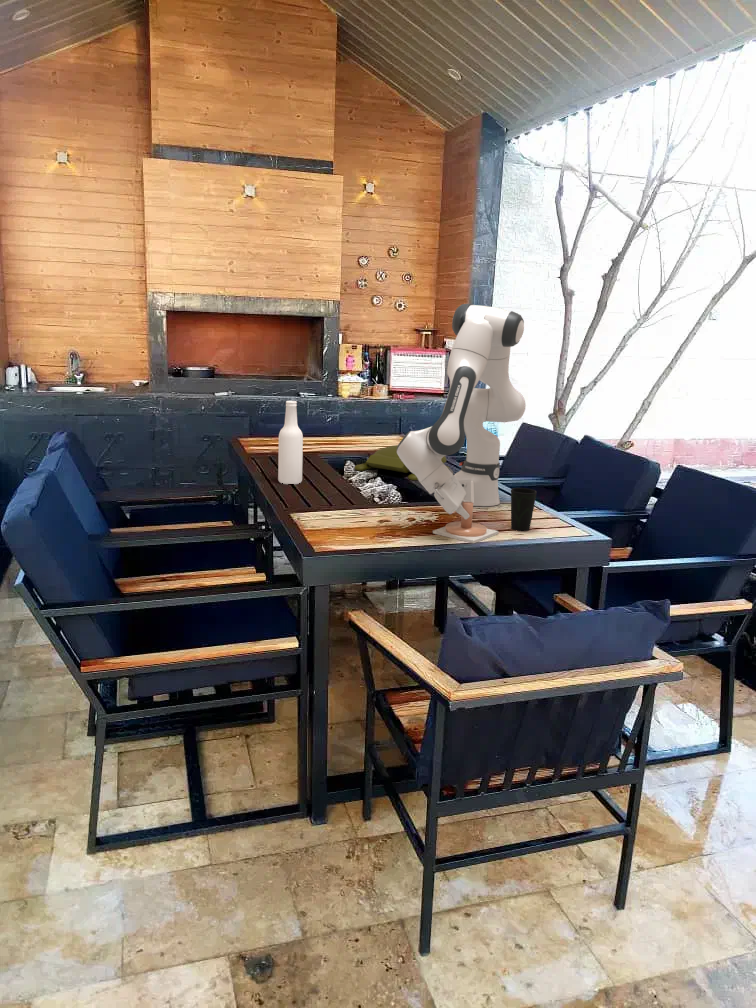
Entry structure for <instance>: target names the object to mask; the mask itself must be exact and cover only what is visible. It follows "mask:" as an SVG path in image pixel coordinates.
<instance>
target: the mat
mask: <svg viewBox="0 0 756 1008" xmlns="http://www.w3.org/2000/svg"><path fill="white" fill-rule="evenodd" d="M445 529H446V525H445V526H443V527H440V528H437V529H434V530H432V534H435V535H438V536H442V537H446V538H450V539H454V540H459V541H463V542H468V543H470V544H476V543H478V542H481V541H483V540H484V541H485V540H486V539H489V538H491V537H494V536H496V535H499V530H495V529H490V528H487V531H486V534H485V535H482V536H476V537H465V536H458V535H453V534H450V533H448V532H447V531H446V530H445Z"/></svg>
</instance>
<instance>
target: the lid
mask: <svg viewBox="0 0 756 1008" xmlns="http://www.w3.org/2000/svg"><path fill="white" fill-rule="evenodd" d="M462 506H463V508H464V509H465V510H466V511H468V513H469V514H470V517H469V518H468V519H464V518H463V517H462V516H461V515H460V516H461V519H460V521H451V522H448V523H446V524H445V526H446V529H445V530H446V531H447V532H448V533H450V534H453V535H458V536H465V537H476V536H482V535H485V534H486V531H487V529H488V528H487V527H486V525H483V524H481V523H477V522H473V516H474V515H473V513H474V506H473V503H472V502H462Z"/></svg>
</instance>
